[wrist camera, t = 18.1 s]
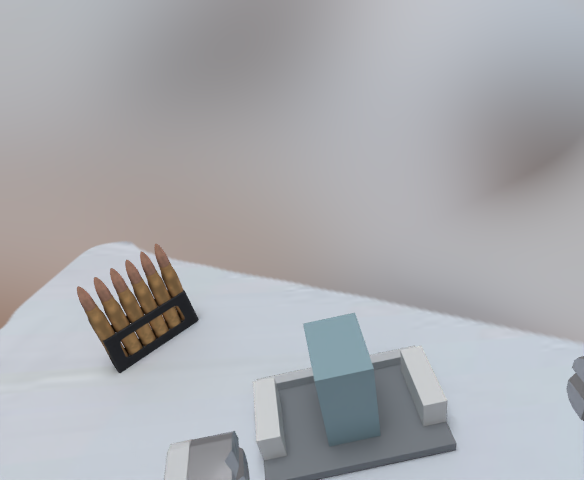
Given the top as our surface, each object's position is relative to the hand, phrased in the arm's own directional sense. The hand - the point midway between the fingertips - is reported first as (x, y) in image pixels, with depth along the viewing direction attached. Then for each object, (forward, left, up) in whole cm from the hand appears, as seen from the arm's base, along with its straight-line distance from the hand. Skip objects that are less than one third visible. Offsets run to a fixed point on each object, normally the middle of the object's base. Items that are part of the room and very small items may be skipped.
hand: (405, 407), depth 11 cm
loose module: (0, +18, -27) cm, 33 cm away
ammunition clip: (-20, +33, -28) cm, 48 cm away
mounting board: (0, +18, -28) cm, 33 cm away
